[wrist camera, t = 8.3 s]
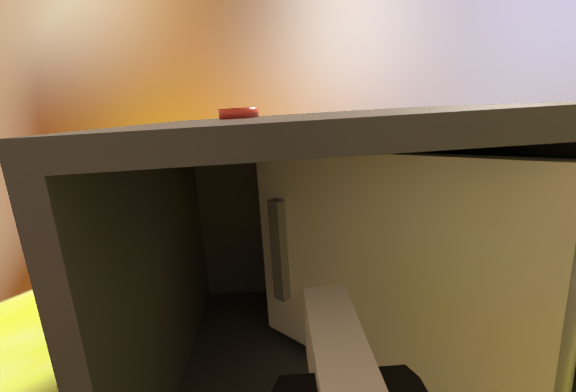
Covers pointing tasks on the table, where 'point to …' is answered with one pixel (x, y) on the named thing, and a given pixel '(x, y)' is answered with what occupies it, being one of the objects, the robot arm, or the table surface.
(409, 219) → the side door
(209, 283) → the cabinet with door
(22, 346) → the table surface
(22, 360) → the table surface
